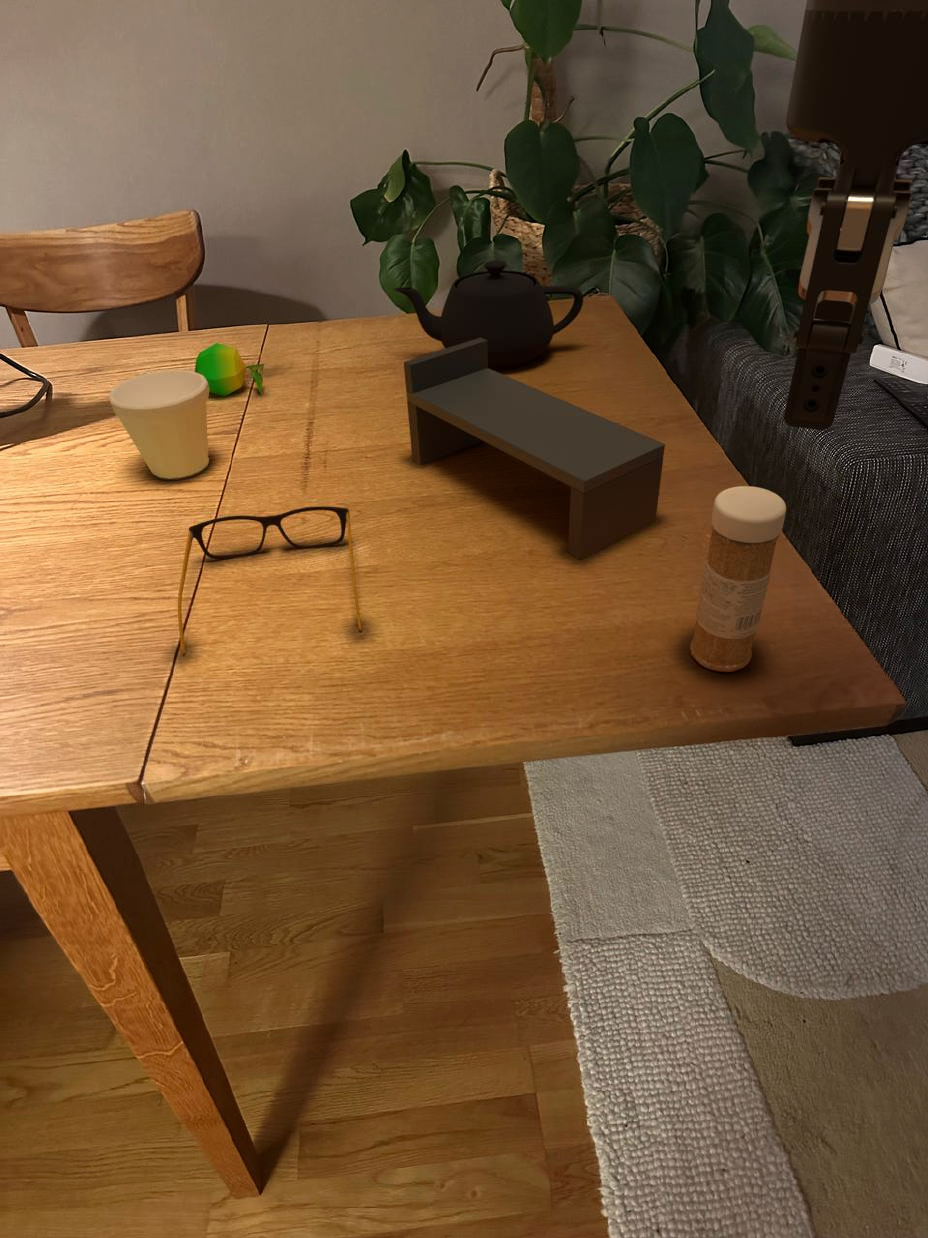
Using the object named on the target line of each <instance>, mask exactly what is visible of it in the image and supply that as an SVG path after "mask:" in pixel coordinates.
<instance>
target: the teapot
mask: <svg viewBox="0 0 928 1238" xmlns="http://www.w3.org/2000/svg"><path fill="white" fill-rule="evenodd" d="M506 267H507V263H506V262H505V261H504V260H499V259H496V260H489V261H486V262H484V268H485V269H486V270H483V271H478V272H472V273H469V274H465V275H462V276H460V277H458V278H457V279H455V280H454V281H453V282H452V284H451V287H450V289H449V292H448V294H447V297H446V299H445V302H444V304H443V308H442V311H441V315H440V316H439V315H435V314H433V313H431V311H429V309H428V308H427V306H426V304H425V301H424V298H423V296H422V295H421V293H420V292H419V291H418V289H415V288H414V287H408V286H407V287H402V286H401V287H394V288H393V290H394V291H395V292H398V293H401V294H403V295H404V296H405V297H406V298H408V299H409V301H410V303H411V304H412V306H413V309H414V311H415V313H416V316H417V319H418V322H419V325H420V326H421V329H422V330H423V331H424V333H426V335H428V336H429V337H430V338H431V339H434V340H435V341H438V342H441V344H442V346H443V348H444V349H446V348H449V347H452V346H456V345H459V344H462V343H465V342H468V341H471V340H474V339H478V338H482V339H485V340H487V357H488V368H489V369H491V370H495V369H497V370H498V369H507V368H508V369H509V368H514V367H518V366H522V365H525V364H528V363H530V362H532V361H534V360H535V359H537V357H538V355H540V354H541V353H542V352H544V351H545V349H546V348H547V347H548V346H549V345H550V343H551V342H552V340H553V337H554V335H556V334H558V333H559V332H561V331H562V330H564V329H565V328H567V327H568V326H569V325H570V324H571V323H572V322H573V321H574V320H575V319H576V318H577V317H578V315H579V313H580V312H581V310H582V308H583V305H584V294H583V291H582V290H581V289H579V288H578V287H576V286H571V285H549V286H546V285H545V286H542V284H541V282H540V280H539V279H538V277H536V276H534V275H533V274H530V273H526V272H523V271H517V270H504V269H506ZM546 295H569V296H573V298H574V299H573V304H572V306H571V308H570V309H569V311H568V313H567V314H566V315H565V317H563V318H562V319H561V320H560V321H559V322H557V323H555V321H554V317H553V313H552V309H551V306H550V304H549V301H548V299H547V296H546Z"/></svg>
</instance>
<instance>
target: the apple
mask: <svg viewBox="0 0 928 1238" xmlns="http://www.w3.org/2000/svg"><path fill="white" fill-rule="evenodd" d="M264 366H265V363H259V364H253V365H252V364H251V365H246V363H245V362H244V359H243V358H242V356H241V355H240V353H239V351H238V349H237V348H234V347H231V346H228V345H225V344H222V343H218V342H215V343H214V344H212V345H211V346H208V347H207V348H205V349H204V350H202V351H199V353H198V354H197V357H196V358H195V366H194V372H196V373H198V374H201V375H203V376H204V377H205V379H206V380H207V382H208V386H209V390H210V391H209V393H211V394H215V395H218V396H222V397H226V396H228V395H230V394H232V393H233V392H235V391H237V390H238V389H240V388H242V387H243V385H244V382H245V377H246V372H247V369H249V371H250V374H251V376H252V378H253V381H254V383H255V385H256V387H257V389H258V392H259V393H260V396H262V394H263V384H264V383H263V382H264V381H263V380H264V379H263V377H262V374H261V372H263V371H264ZM258 371H260V372H258Z"/></svg>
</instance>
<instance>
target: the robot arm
mask: <svg viewBox="0 0 928 1238" xmlns="http://www.w3.org/2000/svg"><path fill="white" fill-rule="evenodd" d="M803 14H804V15H803V20H802V24H801V25H802V26H801V32H800V37H799V43H798V49H797V54H796V60H795V65H794V71H793V77H792V81H791V82H792V83H791V88H790V94H789V99H788V105H787V111H786V115H785V116H786V117H785V126H786V128H787V130H788V132H789V133H790V134H791V135H792V136H794V137H795V138H797V139H800V140H803V141H806V142H811V143H817V144H827V143H829V144H834V145H835V146H836V147H837V148H838V149H839V153H840V157H839V165H838V170H837V174H836V177H820V176H819V177H818V180H817V185H816V188H814V189H813V193H812V197H811V201H810V205H809V209H808V213H807V222H806V233H807V235H808V240H807V245H806V249H805V254H804V257H803V262H802V266H801V270H800V275H799V279H798V280H799V281H798V286H797V287H798V288H797V293H798V296H799V297H800V299H803V300H804V302H803V307H802V310H801V311H802V312H801V316H800V321H799V325H796V326H795V327H794V332H793V337H792V338H793V339H794V341H795V344H794V348H795V349H797V355H796V358H795V363H794V368H793V372H792V377H791V382H790V386H789V391H788V395H787V400H786V404H785V409H784V413H783V421H784V423H785V424H786V425H787V426H789V427H792V428H793V427H794V428H800V429H807V430H815V431H826V430H828V429H829V428H830V427H832V425H833V423H834V421H835V417H836V413H837V409H838V405H839V402H840V397H841V394H842V390H843V387H844V384H845V383H844V382H845V378H846V374H847V371H848V367H849V363H850V359H851V355H852V354H857V350H858V347H859V346H862V345H863V342H864V339H865V335H866V332H865V331H863V328H864V324H865V321H866V316H867V313H868V308H869V305H872V304H874V303H876V302H877V301H878V300H879V298H880V296H881V293H882V291H883V288H884V285H885V281H886V278H887V273H888V270H889V266H890V261H891V258H892V257H891V256H892V252H893V249H894V244H895V241H896V240H897V239H898V238H899V237H900V236H901V234H902V231H903V229H904V225H905V223H906V221H907V218H908V213H909V210H910V205H911V201H912V197H913V191H911V189H912V184H913V180H912V179H896V177H897V173H898V169H899V164H900V161H901V159H902V156H903V155H904V153H905V152H906V151H907V150H909V149H910V148H911V147H913V146H916V145H926V146H928V0H806V6H805V10H804V13H803Z"/></svg>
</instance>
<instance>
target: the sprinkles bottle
mask: <svg viewBox="0 0 928 1238" xmlns="http://www.w3.org/2000/svg"><path fill="white" fill-rule="evenodd" d="M786 513H787V505H786V502H785V501H784V500H783V498H782V497H781V496H780V495H778V494H777V493H775V492H773V491H771V490H768V489H766V488H762V487H757V486H752V485H751V486H750V485H749V486H748V485H739V486H733V487H729V488H726V489H724V490H722V491H721V492H719V493H718V494H717V495H716V497H715V498H714V502H713V507H712V512H711V518H710V523H711V534H710V541H709V546H708V551H707V556H706V558H705V562H704V568H703V574H702V580H701V585H700V586H701V587H700V590H699V597H698V602H697V607H696V608H697V609H696V621H695V626H694V631H693V638H692V640H691V642H690V645H689V646H690V647H689V648H690V654H691V656H692V658H694V660H695V661H696V662H697V663H698V664H699V665H700V666H702V667H704V668H706V669H709V670H712V671H715V672H720V673H721V672H723V673H731V672H736V671H738V670H741V669H743V668H745V667H746V666H747V665H748V664H749V663H750V661H751V658H752V656H753V652H752V647H753V644H754V639H755V635H756V631H757V630H758V628H759V624H760V620H761V615H762V613H763V608H764V603H765V599H766V594H767V591H768V586H769V585H768V584H769V581H770V577H771V573H772V563H773V559H774V554H775V549H776V545H777V541H778V539H779V538H780V535H781V533H782V531H783V527H784V523H785V519H786Z"/></svg>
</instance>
